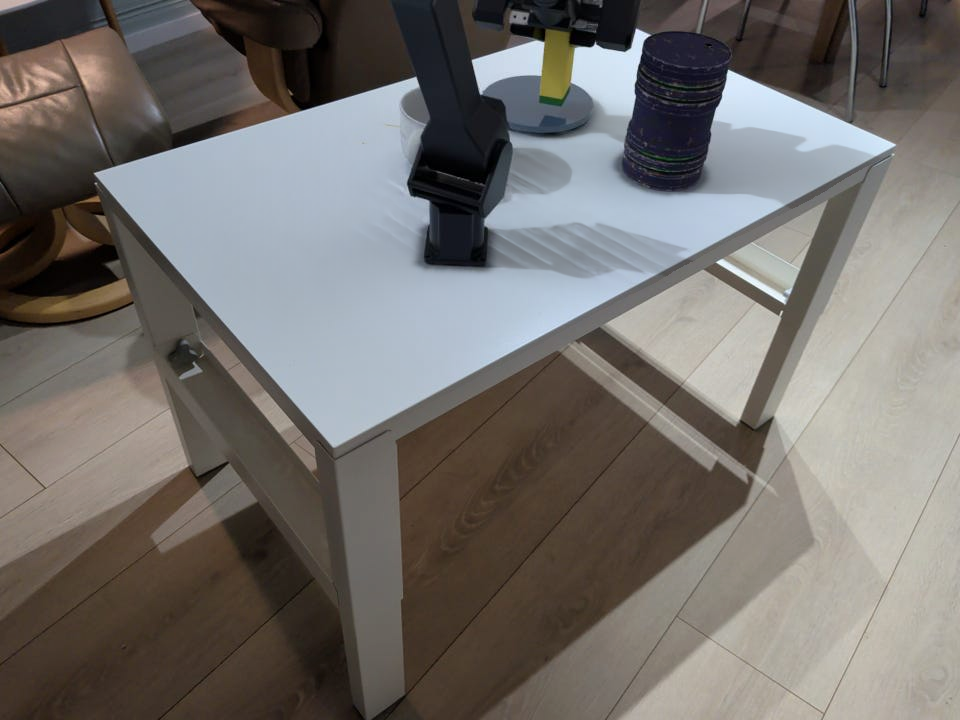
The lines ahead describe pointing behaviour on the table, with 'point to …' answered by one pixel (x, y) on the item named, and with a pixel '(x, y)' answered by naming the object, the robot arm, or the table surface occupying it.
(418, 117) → the teacup
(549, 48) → the yellow green tall block
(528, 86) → the plate
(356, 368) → the table surface
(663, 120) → the dark purple barrel
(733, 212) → the table surface
